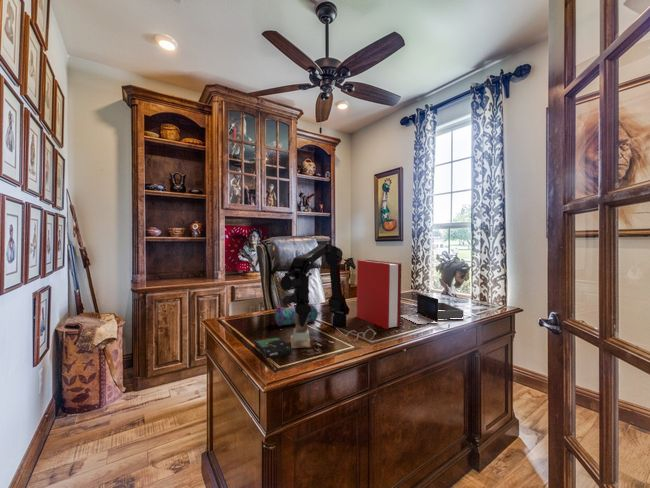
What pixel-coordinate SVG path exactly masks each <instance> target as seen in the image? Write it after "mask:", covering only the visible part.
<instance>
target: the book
mask: <svg viewBox="0 0 650 488" xmlns="http://www.w3.org/2000/svg"><path fill="white" fill-rule="evenodd" d="M356 262H357V263H356V264H357V267H356V270H357V271H356V273H357V275H356V318H358V319H360V320H363V321H365V322H368V323H370V324H373V325H375V324H376V325H375V326H378V327H380V326H381V327H380V328H383V329H385V328H386V329H385V330H389V328H394V327H397V328H401V319H402V317H401V315H402V314H401V312H402V311H401V310H402V309H401V308H402V304H401V303H402V302H401V301H402V263H400V262H391V261H383V260H382V261H381V260H373V259H357V260H356Z"/></svg>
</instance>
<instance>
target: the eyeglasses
mask: <svg viewBox="0 0 650 488" xmlns="http://www.w3.org/2000/svg"><path fill="white" fill-rule="evenodd" d="M364 326H367V327H369V325H368V324H366V323H364V324H363V325H361V326H360V327H359V328H360V329H362V328H363V327H364ZM333 330H338V332H340V334H341V335H343V337H346V338H348V335H349V333H351V332H352V330H350V331H349V333H347V334H344V333H343V332H342V331H340V330H339V329H338V327H335V326H333ZM370 330H371V331H372V332H373V336H372V337H371V338H370V340H372V339H373V338H374V337H375V335H376V334H377V332H376V331H374V330H373V329H372V328H371V327H369V329H367V330H366V331H365V332H361V334H362V337H363V339H364V340H367V338H366V333H367V332H368V331H370ZM354 332H355V333H356V335H357V336H356V338H355V339H354V340H353V341H354V342H357V340H358V339H359V336H360V332H357V331H356V330H354ZM348 341H349V342H351V340H350V339H348Z"/></svg>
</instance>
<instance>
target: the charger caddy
mask: <svg viewBox="0 0 650 488" xmlns="http://www.w3.org/2000/svg"><path fill="white" fill-rule="evenodd" d="M438 310H445V311H438V319H450V318H462V317H463V318H464V309H461V308H458V307H456V306H454V305H451V304H449V303H446V302H438Z"/></svg>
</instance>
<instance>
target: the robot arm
mask: <svg viewBox="0 0 650 488" xmlns="http://www.w3.org/2000/svg"><path fill="white" fill-rule="evenodd" d="M323 256H324V260H325V263H326V264H327V265H328V266H329V277H330V287H331V296H330V297H329V298H328V300H327V301H328V308H329V312H330V314H332V316H331V324H332V326H333V327H334V326H335V327H336V328H345V327H346V328H347V327H348V325H347V316H349V314H350V308H349V306H348V304H347V299H346V297H345V296H344V295H343V292H342V281H341V280H342V279H341V269H340V268H341V267H340V265H341V263H342V262H343V256H344V255H343V251H342V249H341V248H340V247H337V246H335V245H332V243H329V242H320V243H318V245H316V246H315V247H314V248H313V249H311V250H310V251H308V252H307V253H304V254H300V255H297V256H295V257H294V258H293V260H292V263H291V264H290V265H289V266H290V267H289V269H288V270H287V272H284V275H283V277H281V279H280V288H281V289H282V290H283V291H291V290H293V292H291V293H288V294H285V295H282V296H281V297H280V301H281V303H282V306H283V307H286V306H288V305H291V304H293V307H294V309H295V313H297V314H298V315H299V320H300V326H301V327H303V326H304V324H305V321H306V319H307V317H308V315H309V313H310V312H311V306H310V305H309V304H310V299H309V297H310V296H309V295H310V277H311V276H312V273H311V272H310V270H311V269H312V268H313V267H314V263H315V262H316V261H318V260H319V259H320V258H321V257H323ZM335 327H334V328H335Z"/></svg>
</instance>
